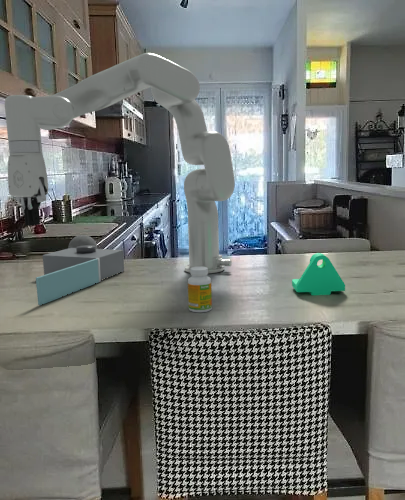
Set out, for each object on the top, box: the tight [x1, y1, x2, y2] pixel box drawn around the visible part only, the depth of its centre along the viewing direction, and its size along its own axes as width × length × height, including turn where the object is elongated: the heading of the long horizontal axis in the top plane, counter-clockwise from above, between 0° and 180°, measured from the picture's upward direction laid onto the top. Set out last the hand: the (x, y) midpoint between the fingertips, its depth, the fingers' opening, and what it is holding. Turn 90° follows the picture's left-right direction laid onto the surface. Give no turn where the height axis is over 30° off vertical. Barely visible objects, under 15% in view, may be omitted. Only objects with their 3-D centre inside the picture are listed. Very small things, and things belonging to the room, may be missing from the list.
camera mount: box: [291, 252, 346, 296], centre depth 123 cm, size 12×8×10 cm, turn 90°
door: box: [35, 258, 102, 306], centre depth 128 cm, size 26×1×7 cm, turn 158°
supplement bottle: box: [187, 267, 213, 313], centre depth 109 cm, size 5×5×10 cm
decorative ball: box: [67, 234, 98, 249], centre depth 169 cm, size 10×10×10 cm
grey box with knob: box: [42, 245, 125, 281], centre depth 150 cm, size 20×14×9 cm
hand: (32, 224), depth 119 cm, fingers closed
